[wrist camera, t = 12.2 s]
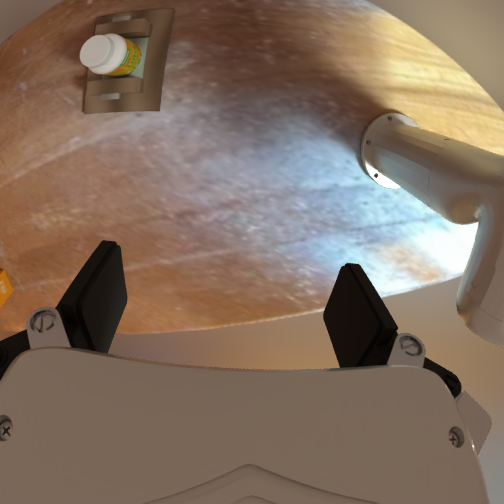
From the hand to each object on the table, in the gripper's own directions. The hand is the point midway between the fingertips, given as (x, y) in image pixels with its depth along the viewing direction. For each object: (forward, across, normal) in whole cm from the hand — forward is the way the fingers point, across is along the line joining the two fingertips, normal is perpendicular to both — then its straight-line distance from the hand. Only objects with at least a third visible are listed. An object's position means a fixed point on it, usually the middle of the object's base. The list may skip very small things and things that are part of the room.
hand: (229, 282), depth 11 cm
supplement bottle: (+29, +17, -13) cm, 36 cm away
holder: (+30, +17, -13) cm, 37 cm away
